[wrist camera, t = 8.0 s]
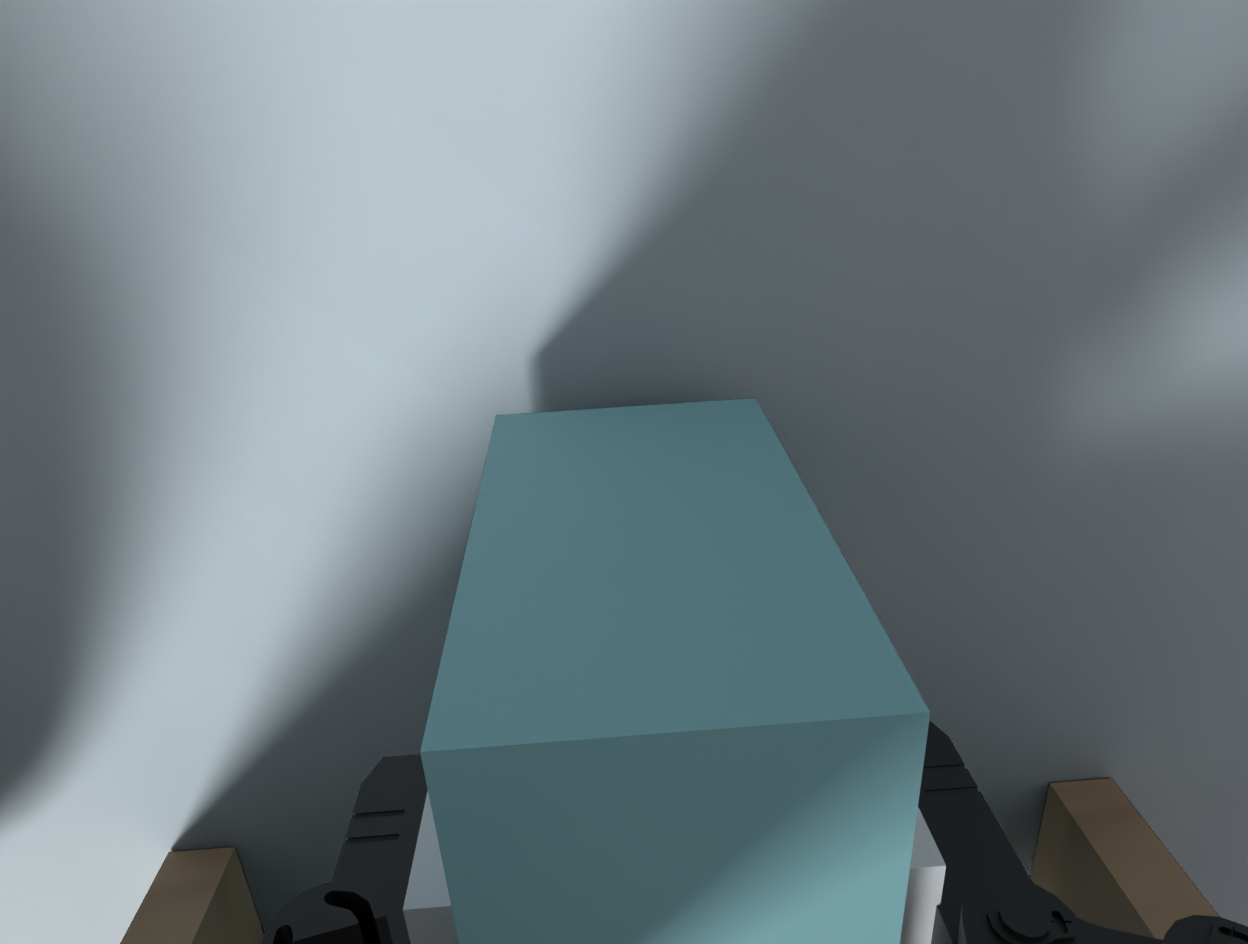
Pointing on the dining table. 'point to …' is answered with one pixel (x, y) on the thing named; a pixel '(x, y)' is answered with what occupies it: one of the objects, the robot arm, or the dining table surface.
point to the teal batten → (666, 697)
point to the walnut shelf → (1063, 864)
